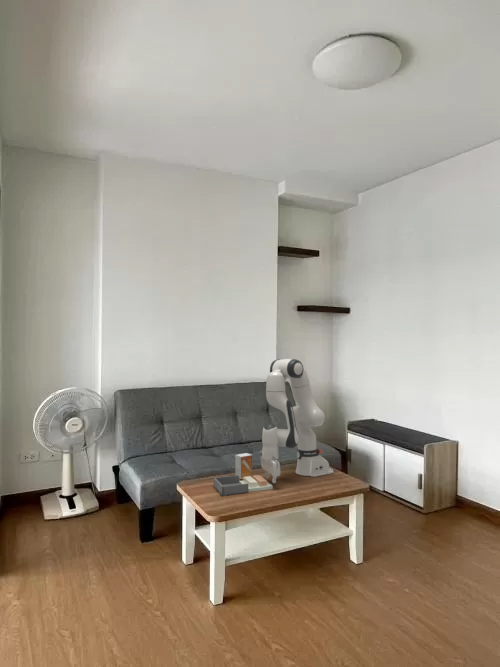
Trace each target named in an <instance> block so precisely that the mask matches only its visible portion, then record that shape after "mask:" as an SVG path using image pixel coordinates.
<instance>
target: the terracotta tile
mask: <svg viewBox="0 0 500 667" xmlns="http://www.w3.org/2000/svg"><path fill="white" fill-rule="evenodd" d="M252 478H253V479H254V480H255V481H257V484H258V485H259V486H260V487H261V486H267V482H268V480H267V479H265V478H264V477H263V476H261V475H259V474H257V475H252Z"/></svg>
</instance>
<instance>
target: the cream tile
mask: <svg viewBox="0 0 500 667" xmlns="http://www.w3.org/2000/svg"><path fill="white" fill-rule="evenodd" d="M242 481H243V482H245V483H246V484H247V483H248V486H249V487H250V488H252V487H258V485H257V481H255V480H254V479H253V476H252V477H251V476H247V477H243V479H242Z"/></svg>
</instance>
